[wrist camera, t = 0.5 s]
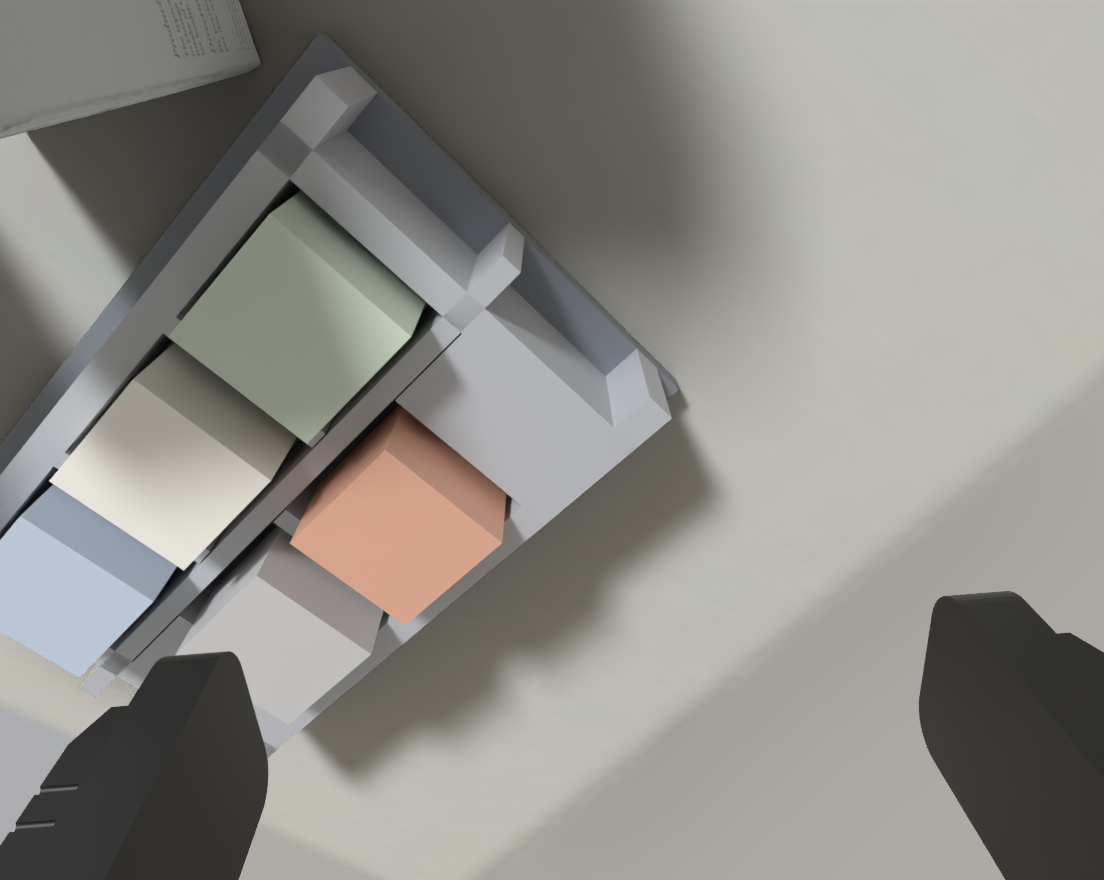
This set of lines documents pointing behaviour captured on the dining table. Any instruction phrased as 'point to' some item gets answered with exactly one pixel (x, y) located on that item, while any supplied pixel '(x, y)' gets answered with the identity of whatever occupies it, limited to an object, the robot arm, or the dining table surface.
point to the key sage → (300, 317)
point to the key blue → (73, 581)
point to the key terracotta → (402, 517)
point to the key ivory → (175, 457)
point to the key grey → (285, 626)
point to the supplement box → (112, 55)
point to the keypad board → (406, 378)
